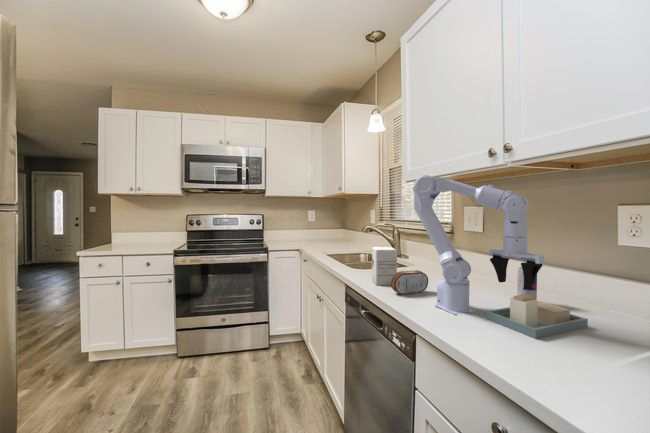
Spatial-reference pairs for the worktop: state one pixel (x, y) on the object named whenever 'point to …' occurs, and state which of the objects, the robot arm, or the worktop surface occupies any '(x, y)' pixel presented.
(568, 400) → the worktop surface
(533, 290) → the energy drink
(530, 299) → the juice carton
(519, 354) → the worktop surface
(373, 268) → the supplement box
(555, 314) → the tan stepped block
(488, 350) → the worktop surface
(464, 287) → the robot arm
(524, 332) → the tray
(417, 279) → the tin
